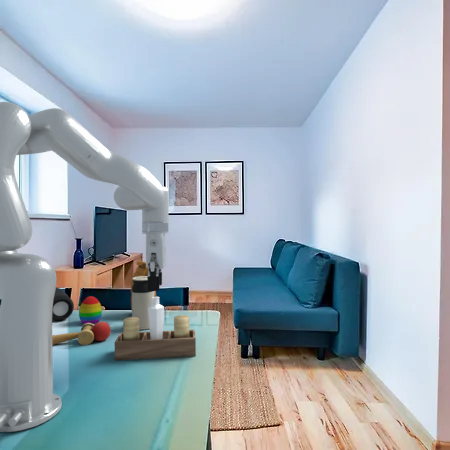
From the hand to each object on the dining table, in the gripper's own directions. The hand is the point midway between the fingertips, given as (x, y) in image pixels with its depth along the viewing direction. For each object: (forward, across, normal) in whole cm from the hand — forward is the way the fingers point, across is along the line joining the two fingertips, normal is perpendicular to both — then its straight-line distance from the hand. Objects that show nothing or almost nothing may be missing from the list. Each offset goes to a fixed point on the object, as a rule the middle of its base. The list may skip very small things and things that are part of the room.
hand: (155, 287), depth 98 cm
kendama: (+19, +13, +24) cm, 34 cm away
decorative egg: (+19, +36, +27) cm, 49 cm away
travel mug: (+19, +27, +6) cm, 33 cm away
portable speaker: (+19, +50, +45) cm, 69 cm away
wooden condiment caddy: (+19, +1, -1) cm, 19 cm away
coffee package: (+18, +44, +8) cm, 48 cm away
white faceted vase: (+18, 0, 0) cm, 18 cm away
